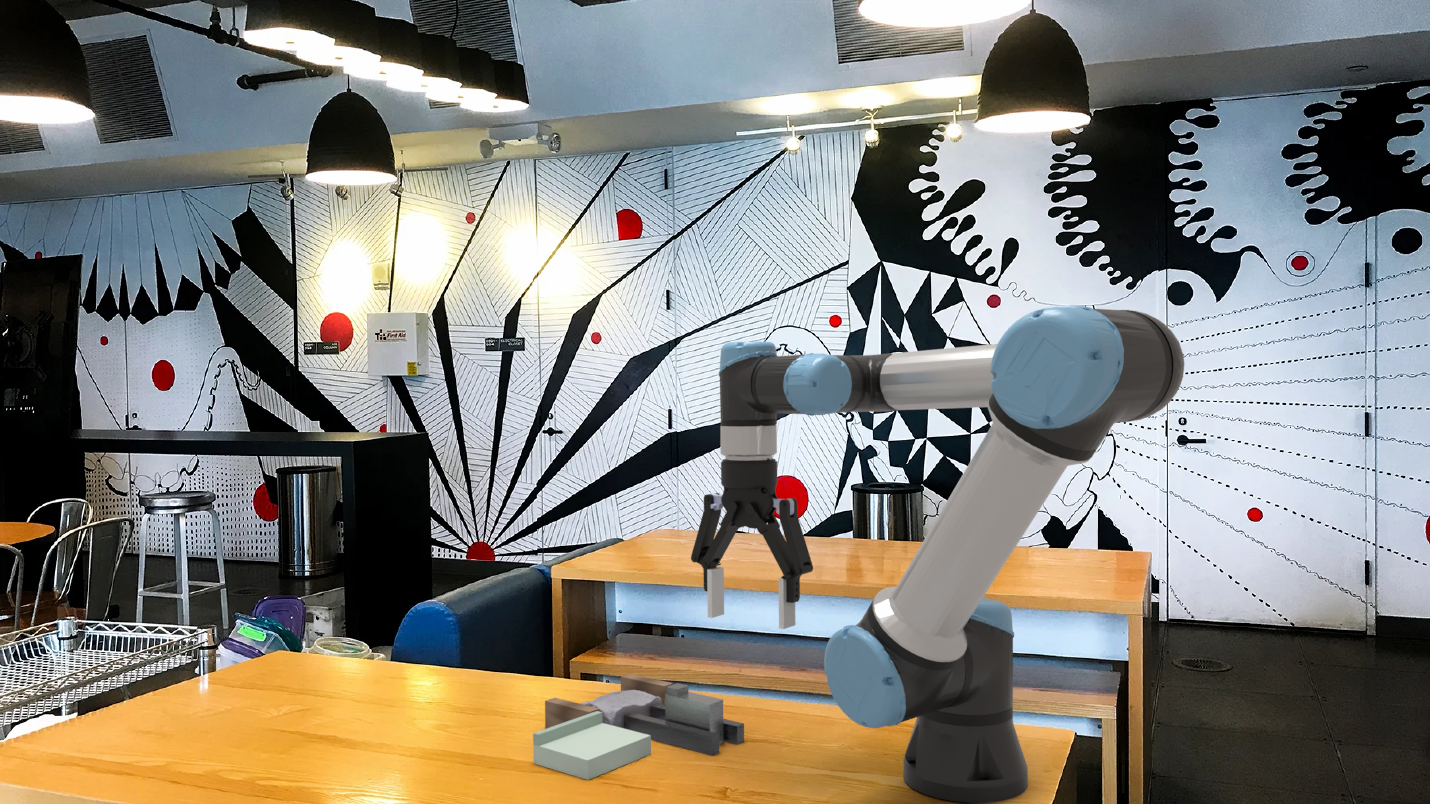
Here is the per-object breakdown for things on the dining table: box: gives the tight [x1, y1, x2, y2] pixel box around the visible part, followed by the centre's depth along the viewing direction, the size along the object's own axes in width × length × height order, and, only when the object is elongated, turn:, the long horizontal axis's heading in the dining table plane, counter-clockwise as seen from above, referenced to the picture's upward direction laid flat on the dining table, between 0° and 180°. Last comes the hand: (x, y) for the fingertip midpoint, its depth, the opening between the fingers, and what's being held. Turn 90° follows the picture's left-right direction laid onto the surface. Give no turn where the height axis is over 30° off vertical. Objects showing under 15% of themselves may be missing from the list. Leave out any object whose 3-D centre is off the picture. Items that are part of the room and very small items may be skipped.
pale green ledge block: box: [532, 711, 652, 781], centre depth 146 cm, size 10×12×4 cm
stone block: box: [579, 690, 662, 728], centre depth 163 cm, size 12×5×10 cm
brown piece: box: [544, 673, 674, 729], centre depth 164 cm, size 9×18×4 cm, turn 142°
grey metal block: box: [665, 682, 725, 745], centre depth 154 cm, size 8×3×7 cm, turn 52°
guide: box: [624, 703, 745, 756], centre depth 155 cm, size 16×7×2 cm, turn 52°
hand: (750, 621), depth 147 cm, fingers open, 11 cm apart
